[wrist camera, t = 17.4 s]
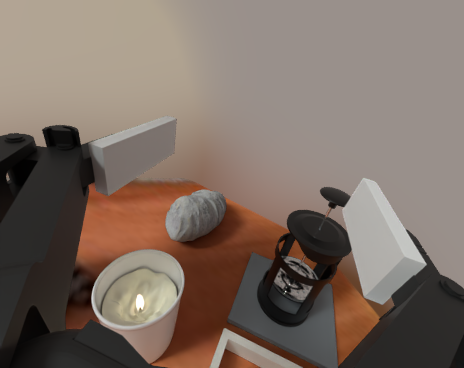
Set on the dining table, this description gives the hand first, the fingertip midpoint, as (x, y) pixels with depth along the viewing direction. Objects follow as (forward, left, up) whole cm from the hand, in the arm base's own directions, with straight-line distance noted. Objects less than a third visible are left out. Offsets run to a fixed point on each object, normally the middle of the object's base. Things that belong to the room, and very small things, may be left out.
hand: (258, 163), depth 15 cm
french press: (+13, -9, -29) cm, 33 cm away
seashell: (+23, +13, -30) cm, 40 cm away
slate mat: (+13, -10, -30) cm, 34 cm away
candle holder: (-1, +9, -30) cm, 32 cm away
